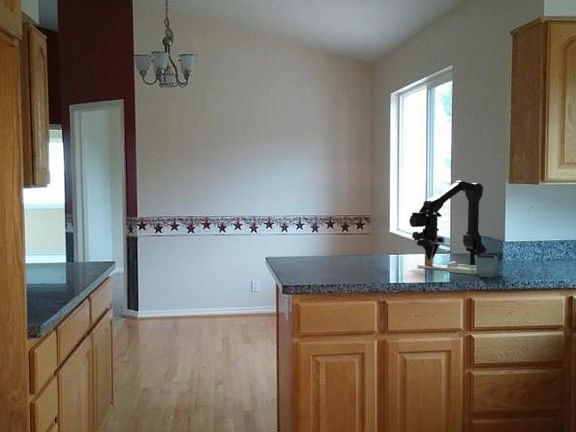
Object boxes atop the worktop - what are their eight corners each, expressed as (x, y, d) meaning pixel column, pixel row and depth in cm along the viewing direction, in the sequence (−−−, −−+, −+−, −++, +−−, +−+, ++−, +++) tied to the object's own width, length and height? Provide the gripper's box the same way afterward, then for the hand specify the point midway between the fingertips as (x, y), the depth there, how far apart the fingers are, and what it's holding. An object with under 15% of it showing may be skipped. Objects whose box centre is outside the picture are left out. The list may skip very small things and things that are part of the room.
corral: (458, 268, 297) (458, 263, 296) (483, 270, 290) (483, 266, 289) (447, 271, 286) (447, 267, 286) (473, 274, 279) (473, 270, 279)
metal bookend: (417, 267, 297) (417, 250, 297) (424, 265, 304) (424, 248, 303) (449, 271, 288) (450, 253, 287) (456, 268, 295) (456, 251, 294)
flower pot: (497, 278, 268) (497, 258, 268) (475, 278, 270) (476, 257, 269) (494, 275, 277) (495, 255, 276) (473, 274, 279) (474, 254, 278)
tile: (455, 269, 294) (455, 266, 294) (470, 271, 290) (470, 267, 290) (450, 271, 289) (450, 268, 288) (465, 273, 284) (465, 269, 284)
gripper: (423, 224, 308) (422, 255, 310) (406, 226, 293) (406, 260, 295) (444, 225, 302) (444, 257, 303) (429, 228, 287) (428, 262, 288)
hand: (430, 259), depth 297 cm, fingers closed on metal bookend, 3 cm apart
